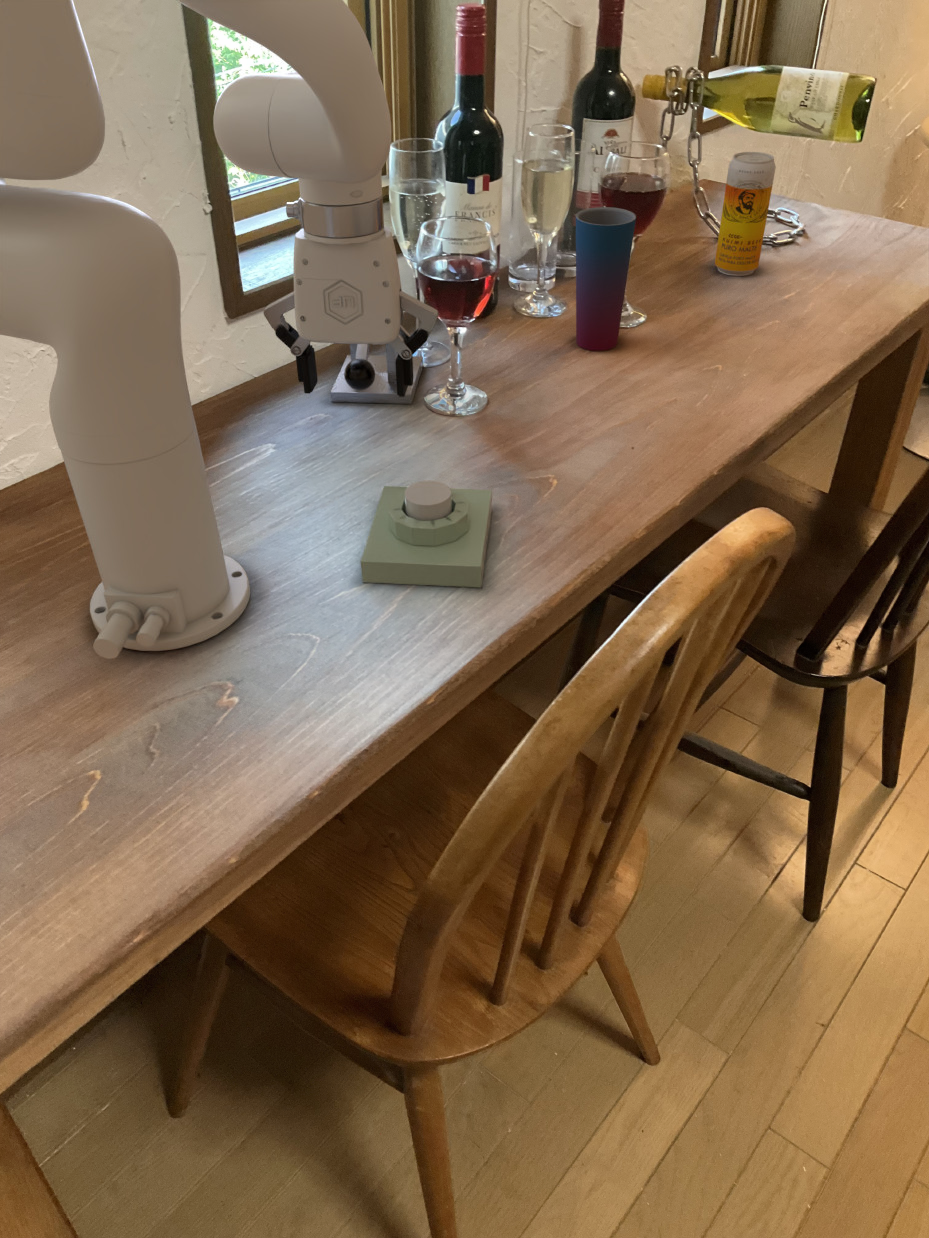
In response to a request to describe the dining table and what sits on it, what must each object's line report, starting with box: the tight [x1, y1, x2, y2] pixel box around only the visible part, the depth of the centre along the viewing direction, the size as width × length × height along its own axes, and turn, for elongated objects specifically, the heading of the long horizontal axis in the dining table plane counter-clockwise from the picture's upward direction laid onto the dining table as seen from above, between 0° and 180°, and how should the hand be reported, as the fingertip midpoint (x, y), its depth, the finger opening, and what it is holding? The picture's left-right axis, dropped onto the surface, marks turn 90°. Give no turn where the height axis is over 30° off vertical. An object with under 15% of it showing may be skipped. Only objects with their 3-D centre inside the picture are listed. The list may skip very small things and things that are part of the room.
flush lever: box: [344, 344, 375, 390], centre depth 101 cm, size 14×3×3 cm, turn 175°
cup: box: [575, 206, 637, 352], centre depth 113 cm, size 7×7×15 cm
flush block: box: [360, 485, 493, 588], centre depth 83 cm, size 12×10×4 cm
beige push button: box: [404, 480, 452, 521], centre depth 82 cm, size 4×4×2 cm
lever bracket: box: [330, 343, 424, 405], centre depth 106 cm, size 10×9×13 cm
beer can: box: [714, 151, 777, 277], centre depth 133 cm, size 6×6×15 cm
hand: (356, 389), depth 99 cm, fingers open, 9 cm apart
